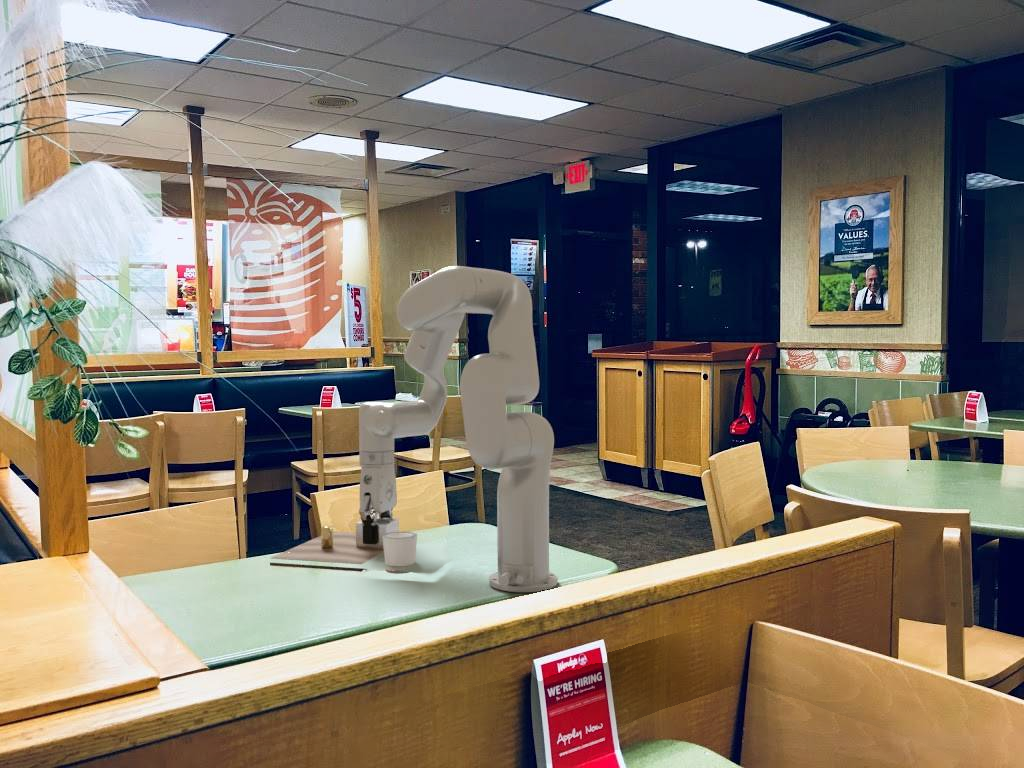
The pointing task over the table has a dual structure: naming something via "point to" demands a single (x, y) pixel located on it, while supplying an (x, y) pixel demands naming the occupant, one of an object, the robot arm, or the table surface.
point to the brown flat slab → (330, 553)
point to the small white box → (383, 528)
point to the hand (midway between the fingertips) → (377, 539)
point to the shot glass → (399, 549)
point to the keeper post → (326, 537)
